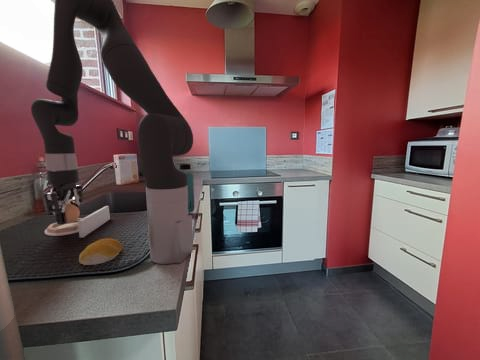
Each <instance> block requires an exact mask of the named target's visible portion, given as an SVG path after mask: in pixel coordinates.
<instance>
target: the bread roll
mask: <svg viewBox="0 0 480 360" xmlns="http://www.w3.org/2000/svg"><path fill="white" fill-rule="evenodd" d="M122 250H123V245H122V243H121V242H120V241H119V240H117V239H115V238H110V237H109V238H101V239H97V240H96V241H94V242H93V243H90V244H88V245H87V246H86V247H85V248H84V249H83V251H81V252H80V253H79V256H78V257H79V258H78V262H79V264H81V265H82V264H83V265H82V266H85V265H90V264H97V263H103V262H106V261H109V260H111V259H113V258H115V257H116V256H117V255H118V256H119V255H120V253H121V252H122ZM120 251H121V252H120ZM119 252H120V253H119ZM118 256H117V257H118ZM117 257H116V258H117ZM116 258H115V259H116Z"/></svg>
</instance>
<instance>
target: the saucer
mask: <svg viewBox="0 0 480 360" xmlns="http://www.w3.org/2000/svg"><path fill="white" fill-rule="evenodd" d="M83 218H84V217H78V219H77V220H75V221H74V222H71V223H65V224H57V222H54V223H51V224H49V225H48V226H47V227H46V229H45V230H44V234H45V235H47V236H49V237H50V236H51V237H58V236H68V235H72V234H77V233H79V228H78V221H79V220H81V219H83Z"/></svg>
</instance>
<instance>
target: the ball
mask: <svg viewBox="0 0 480 360" xmlns="http://www.w3.org/2000/svg"><path fill="white" fill-rule="evenodd" d="M59 207H60V208H61V206H59ZM64 212H65V215H66V223H71V222H74V221H75V220H77V219H78V218H80V216H79V215H80V213H81V211H80V208H79V209H78V207H76V206H75V205H72V204H69V203H68V204H67V205H66V206H65V211H64Z"/></svg>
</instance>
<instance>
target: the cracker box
mask: <svg viewBox="0 0 480 360" xmlns="http://www.w3.org/2000/svg"><path fill="white" fill-rule="evenodd" d="M114 163H116V165H117V168H115V167H114V174H115V182H116V183H115V184H116V185H117V186H124V185H130V184H137V183H139V182H140V179H139V170H138V169H139V168H138V155H137V153H126V154H125V153H122V154H120V153H119V154H113V164H114Z"/></svg>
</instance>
